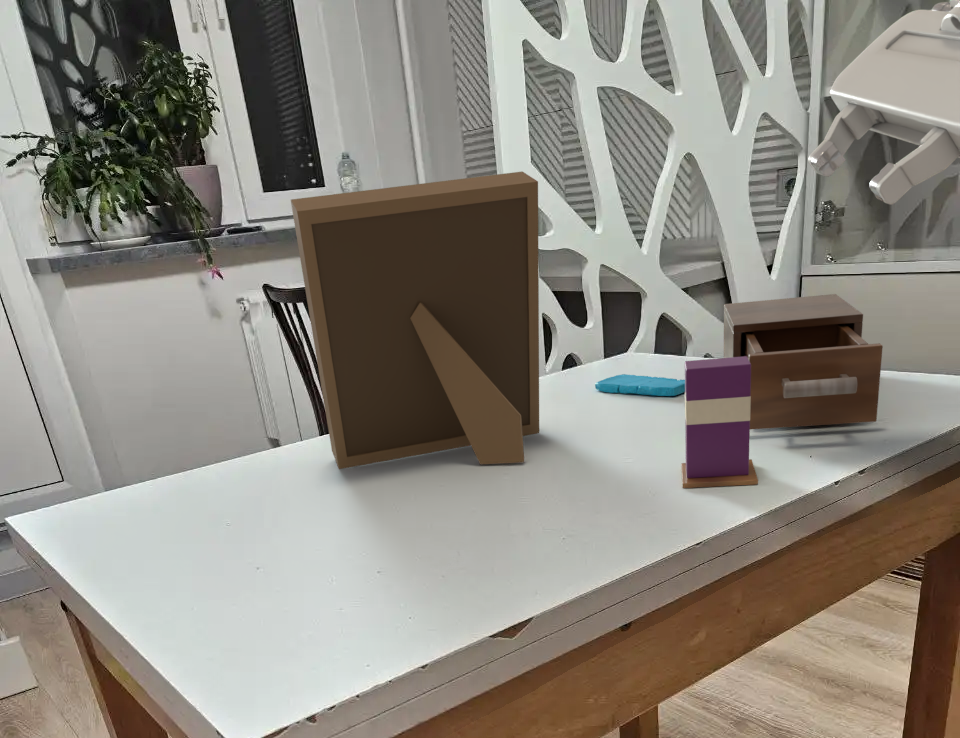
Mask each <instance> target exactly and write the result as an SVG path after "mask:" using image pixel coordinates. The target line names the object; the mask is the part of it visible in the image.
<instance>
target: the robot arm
mask: <svg viewBox="0 0 960 738" xmlns="http://www.w3.org/2000/svg"><path fill="white" fill-rule="evenodd" d="M829 95H830V97H831V100H832V101H833V103H834V104H835V106H836V107H837V109H838V111H839V112H838V113H837V114H836V116H835V117H834V119H833V121H832V123H831V125H830V126H829V128H828V131H827V133H826V135H825V136H824V140H823V141H822V142H820V144H818V145H817V147H816V148H815V149H814V150H813V151H812V152H811V153H809V155H808V159H807V163H808V164H809V165H810V167H811V168H812V170H813V171H814V173H815V174H817V175H821V176H822V177H824V178H825V177H826V178H829V177H831V176H832V175H833V174H835V171H836V170H837V169H839V168H840V167H841V166H842V165H843V164H844V163H845V162H846V161H847V160H846V158H845V157H844V155H845V154H846V153H847V151H848V150H849V148H850V147H851V146H852V144H853V143H854V141H855V140H857V141H858V140H860V139H861V138H863V137H864V135H866V134H867V133H868V131H871V132H875V133H877V134H880V135H885V136H887V137H890V138H893V139H897V140H900V141H903V142H906V143H910V144H913V145H915V146H918V147H917V148H915V149H914V150H912V151H911V152H909V153H908V154H907V155H905V156H904V157H903V158H901V159H899V160H898V161H897V162H896V163H893V162H887V164H886V165H884V166H883V167H882V168H881V169H880V171H879V173H877V174H876V175H875V176H873V177H872V178H871V180H870V182H869V189H870V191H871V192H872V193H873V195H874V197H875V198H876V199H877V200H879V201H881V202H883V203H885V204H887V205H895V203H897V202H898V201H899V200H900V199H902V197H903V196H904V195H906V193H907V192H908V191H909V190H910V189H912V188H913V187H916V186H917V185H919V184H921V183H923V182H924V181H927V180H929V179H931V178H932V177H934V176H936V175H938V174H939V173H942V172H944V171H945V170H947V168H949V166H951V165H952V164H953V163H954V162H955V161H956V160H957V159H960V0H949V1H942V2H941V1H940V2H938V3H935V4H934V5H933V6H932V8H931V9H916V10H913V11H910V12H908V13H906V14H904V15H903V16H902V17H900V18H898V19H897V20H896V21H894V23H891V25H889V27H888V28H886V29H885V30H884V31H883V32H882V33H881V34H880V35H879V36H877V37H876V38H875V39H874V40H873V41H872V42H871V43H870V44H869V45H868V46H867V47H865V49H864V50H863V51H861V53H859V54H858V55H857V56H856V57H855V58H854V59H853V60H852V61H851V62H850V63H849V64H848V65H847V66H846V67H845V68H844V69H843V70H842V71H841V72H840V73H839V74H838V76H837V77H836V78H835V80H834V82H833V83H832V86H831V88H830V91H829Z"/></svg>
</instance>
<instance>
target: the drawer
mask: <svg viewBox="0 0 960 738" xmlns="http://www.w3.org/2000/svg"><path fill="white" fill-rule="evenodd" d="M883 347H884V346H883V344H881V343H879V342H878V343H868V342H867V341H866V340H865V339H863V337H862V338H861V337H860V336H859V335H858V334H856V333H855V332H854V331H853V330H852V329H851V328H849V327H848V326H847V325H846V324H836V325H824V326H812V327H800V328H788V329H777V330H765V331H753V332H744V356H747V358H748V360H749V362H750V364H751V392H750V397H751V406H750V430H763V429H779V428H781V429H782V428H794V427H807V426H808V427H810V426H827V425H843V424H844V425H845V424H858V423H873V422H877V420H878V419H877V418H878V407H879V396H880V395H879V394H880V383H881V372H882V371H881V370H882V358H883Z"/></svg>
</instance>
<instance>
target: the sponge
mask: <svg viewBox="0 0 960 738" xmlns="http://www.w3.org/2000/svg"><path fill="white" fill-rule="evenodd" d="M594 387H595V388H594V389H596V390H598V391H599V392H604V393H609V394H618V393H619V394H624V395H628V394H634V395H642V396H655V397H656V396H658V397H675V396H677V395H680V394H683V393H685V379H677V378H670V377H661V376H659V377H658V376H648V375H635V374H626V373H622V374H617V375H614V376H610V377H606V378H604V379H602V380H599V381H596V382H595V384H594Z"/></svg>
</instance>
